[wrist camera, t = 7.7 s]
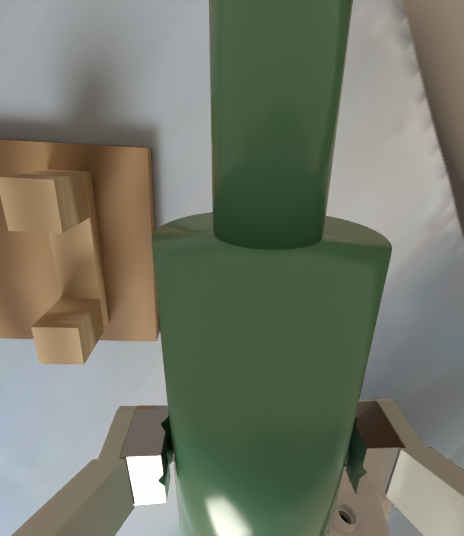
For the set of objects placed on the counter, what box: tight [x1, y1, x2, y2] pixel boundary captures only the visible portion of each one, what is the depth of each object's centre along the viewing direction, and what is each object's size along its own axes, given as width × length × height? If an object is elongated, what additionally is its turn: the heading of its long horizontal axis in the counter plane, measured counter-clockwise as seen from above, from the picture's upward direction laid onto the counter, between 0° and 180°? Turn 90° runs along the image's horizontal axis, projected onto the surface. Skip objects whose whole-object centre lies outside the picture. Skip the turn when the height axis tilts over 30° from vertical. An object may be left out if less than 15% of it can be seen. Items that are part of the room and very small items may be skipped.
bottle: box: [151, 0, 392, 536], centre depth 8 cm, size 21×5×5 cm, turn 0°
